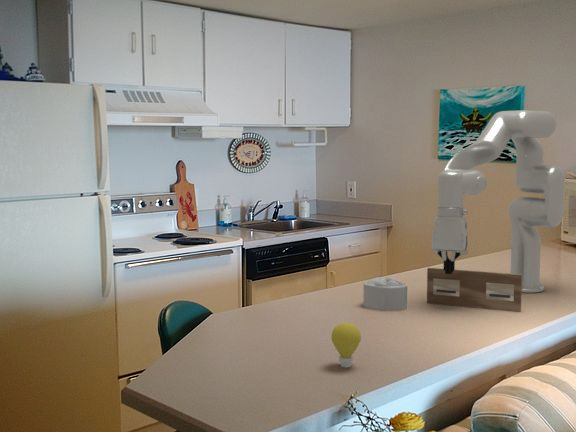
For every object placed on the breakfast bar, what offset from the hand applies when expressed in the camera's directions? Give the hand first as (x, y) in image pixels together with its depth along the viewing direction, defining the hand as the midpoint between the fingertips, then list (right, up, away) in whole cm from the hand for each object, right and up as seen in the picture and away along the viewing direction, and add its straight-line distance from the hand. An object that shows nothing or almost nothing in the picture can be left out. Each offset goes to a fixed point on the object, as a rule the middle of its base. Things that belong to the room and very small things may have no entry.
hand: (448, 273), depth 208 cm
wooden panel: (+8, -11, +4) cm, 14 cm away
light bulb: (-35, -17, -51) cm, 64 cm away
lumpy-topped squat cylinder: (-18, -11, +5) cm, 22 cm away
